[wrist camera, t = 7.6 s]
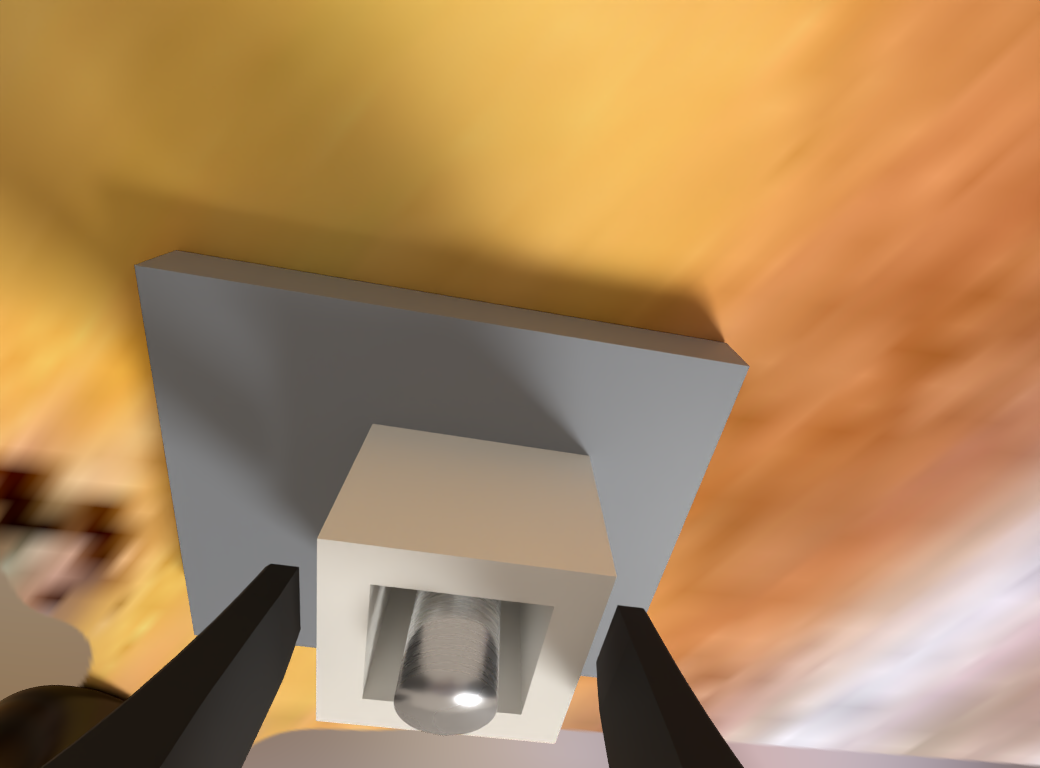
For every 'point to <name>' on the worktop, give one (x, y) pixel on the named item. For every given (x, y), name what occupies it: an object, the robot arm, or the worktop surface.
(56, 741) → the supplement bottle
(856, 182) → the worktop surface
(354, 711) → the collar
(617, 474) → the shaft board
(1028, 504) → the worktop surface
